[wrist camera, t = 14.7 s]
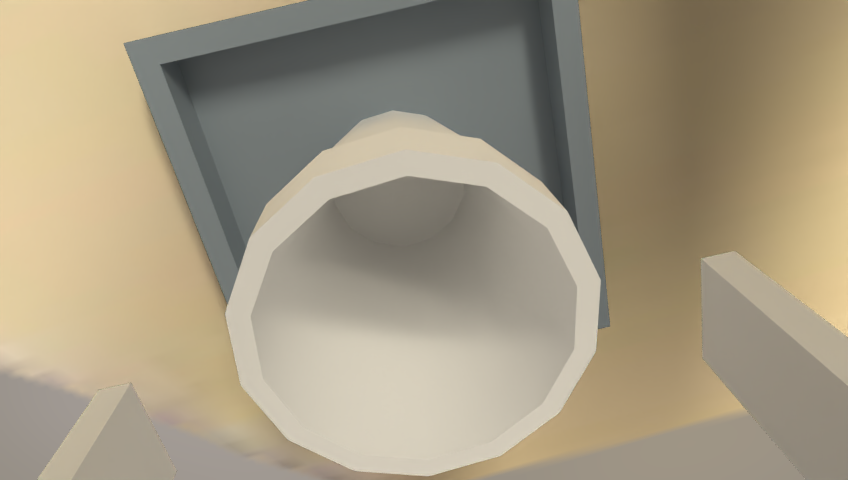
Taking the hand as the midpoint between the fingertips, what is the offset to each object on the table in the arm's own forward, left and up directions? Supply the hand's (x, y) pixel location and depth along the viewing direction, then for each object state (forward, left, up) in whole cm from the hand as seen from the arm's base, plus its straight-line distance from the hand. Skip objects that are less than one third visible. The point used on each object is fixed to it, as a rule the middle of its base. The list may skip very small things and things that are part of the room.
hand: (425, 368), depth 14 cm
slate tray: (0, 0, -15) cm, 15 cm away
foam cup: (0, 0, -15) cm, 15 cm away
